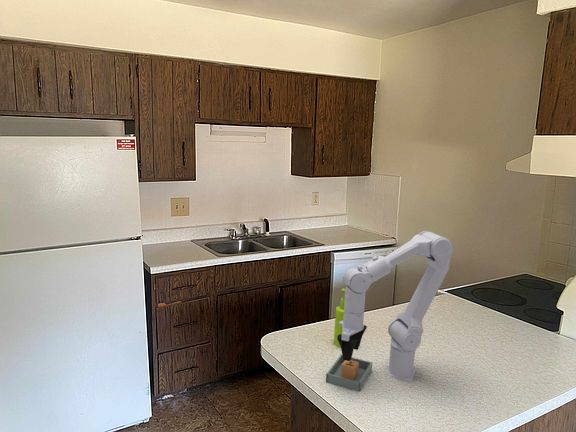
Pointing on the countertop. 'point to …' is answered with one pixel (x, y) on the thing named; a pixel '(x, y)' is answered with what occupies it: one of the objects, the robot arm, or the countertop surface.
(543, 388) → the countertop surface
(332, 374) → the bin
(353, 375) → the letter cube
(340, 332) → the soap dispenser
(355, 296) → the robot arm
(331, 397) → the countertop surface
